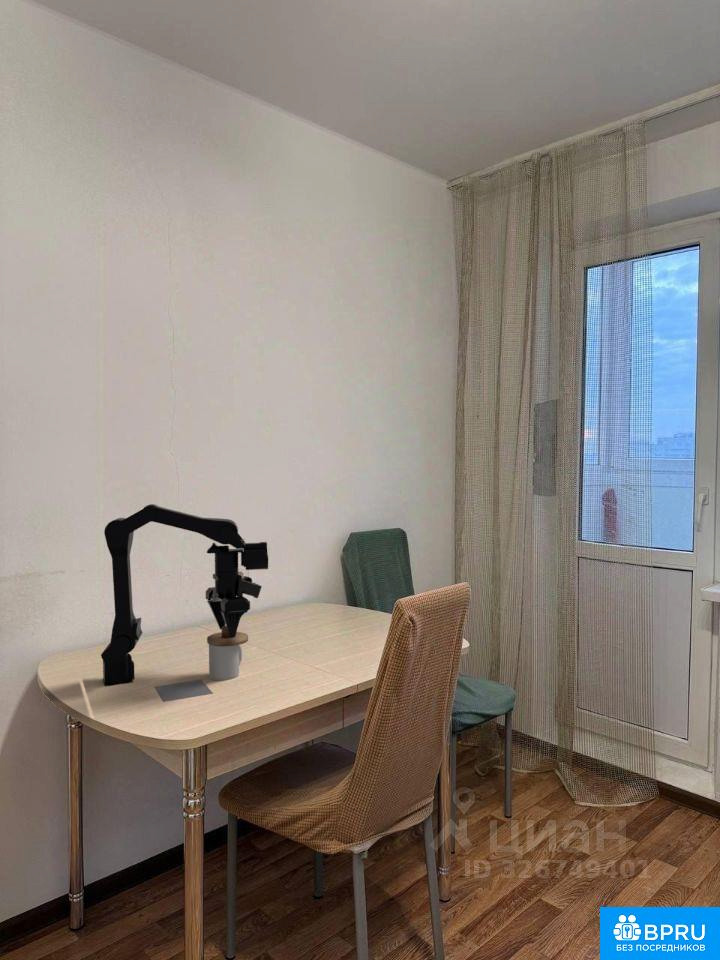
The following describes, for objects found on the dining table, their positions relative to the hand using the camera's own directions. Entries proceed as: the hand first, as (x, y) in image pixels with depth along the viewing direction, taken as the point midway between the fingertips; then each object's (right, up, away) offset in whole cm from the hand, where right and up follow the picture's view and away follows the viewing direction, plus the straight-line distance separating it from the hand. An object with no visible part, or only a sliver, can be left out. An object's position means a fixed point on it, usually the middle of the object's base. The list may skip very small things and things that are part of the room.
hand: (227, 633), depth 167 cm
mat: (-8, -11, -11) cm, 18 cm away
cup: (0, -11, 0) cm, 11 cm away
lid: (0, -2, 0) cm, 2 cm away
